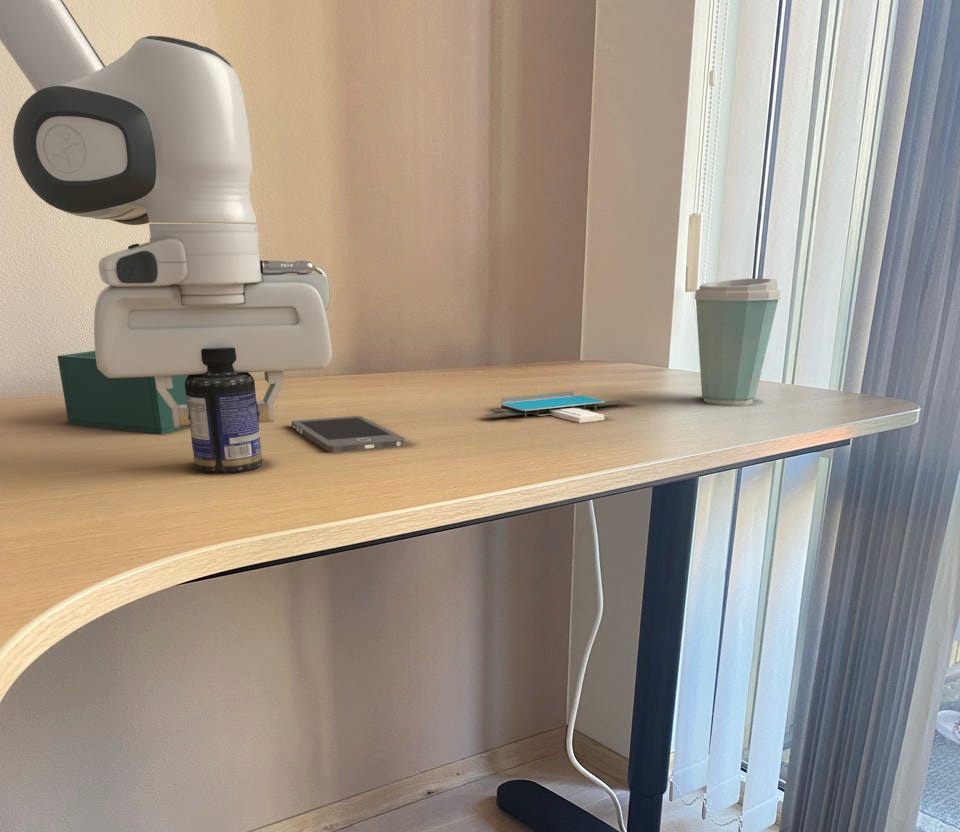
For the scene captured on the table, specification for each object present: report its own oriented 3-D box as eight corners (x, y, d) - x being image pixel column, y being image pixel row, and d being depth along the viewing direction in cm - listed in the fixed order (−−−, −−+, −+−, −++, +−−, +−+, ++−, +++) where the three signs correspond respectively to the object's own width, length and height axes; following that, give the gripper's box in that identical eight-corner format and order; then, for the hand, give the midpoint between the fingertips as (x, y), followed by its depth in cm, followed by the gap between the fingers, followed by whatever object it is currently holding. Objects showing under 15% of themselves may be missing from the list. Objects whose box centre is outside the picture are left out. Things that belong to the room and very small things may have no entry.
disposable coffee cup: (724, 412, 117) (737, 281, 111) (667, 399, 126) (676, 278, 120) (786, 405, 122) (802, 279, 116) (727, 393, 131) (739, 276, 125)
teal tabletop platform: (519, 431, 106) (520, 416, 105) (464, 414, 115) (464, 400, 114) (657, 414, 115) (658, 400, 115) (596, 400, 125) (597, 387, 124)
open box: (68, 425, 108) (57, 355, 105) (153, 406, 119) (145, 343, 116) (162, 435, 103) (152, 362, 100) (241, 415, 114) (235, 349, 111)
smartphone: (289, 427, 107) (288, 420, 106) (359, 421, 110) (359, 415, 110) (329, 453, 94) (328, 446, 94) (406, 446, 97) (406, 439, 97)
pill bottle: (267, 461, 92) (257, 341, 87) (257, 476, 86) (245, 349, 82) (202, 461, 91) (188, 341, 87) (187, 477, 86) (172, 349, 81)
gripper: (320, 259, 88) (329, 411, 93) (81, 260, 81) (106, 424, 87) (335, 261, 82) (343, 423, 88) (80, 262, 76) (106, 437, 81)
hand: (223, 424), depth 87 cm, fingers closed on pill bottle, 6 cm apart
